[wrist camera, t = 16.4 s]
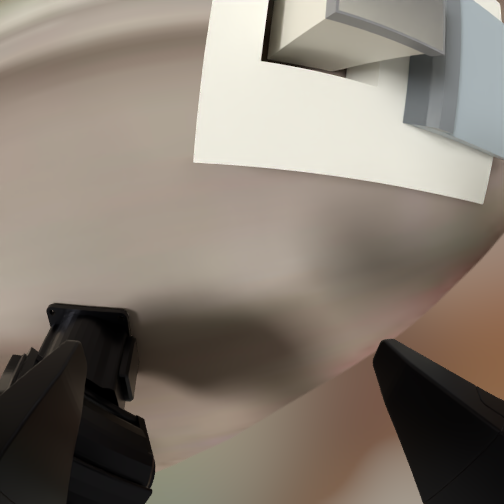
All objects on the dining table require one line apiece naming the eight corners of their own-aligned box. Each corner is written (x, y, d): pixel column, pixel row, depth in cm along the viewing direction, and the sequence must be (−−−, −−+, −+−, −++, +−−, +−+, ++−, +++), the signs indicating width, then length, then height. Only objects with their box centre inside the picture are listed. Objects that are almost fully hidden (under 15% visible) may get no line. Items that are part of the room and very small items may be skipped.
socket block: (194, 152, 17) (193, 162, 14) (228, -76, 11) (236, -108, 7) (448, 188, 21) (482, 204, 17) (465, 9, 15) (499, 3, 11)
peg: (265, 60, 16) (335, 11, 7) (272, 0, 14) (339, -83, 5) (332, 73, 16) (444, 55, 7) (338, 15, 15) (441, -36, 6)
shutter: (402, 122, 14) (438, 128, 12) (412, -18, 11) (444, -30, 8) (492, 156, 16) (524, 167, 13) (501, 40, 12) (532, 39, 10)
